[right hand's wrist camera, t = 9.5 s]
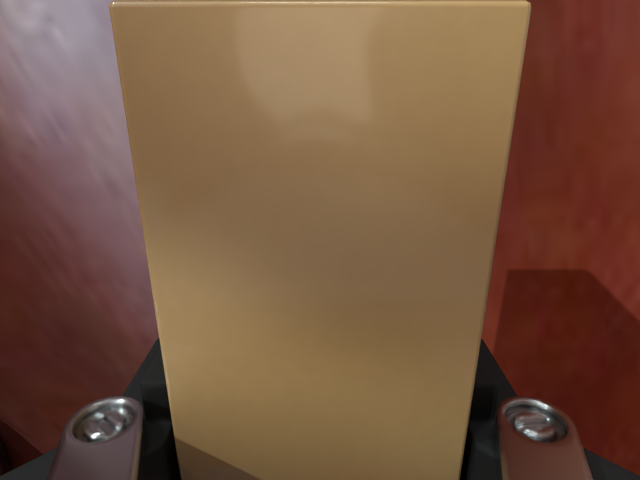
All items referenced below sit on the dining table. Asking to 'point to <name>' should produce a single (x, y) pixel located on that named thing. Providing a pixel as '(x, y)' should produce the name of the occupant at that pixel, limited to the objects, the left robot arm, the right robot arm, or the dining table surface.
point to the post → (320, 223)
